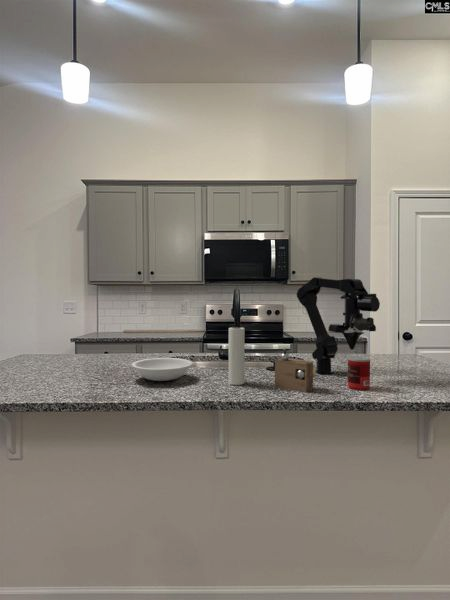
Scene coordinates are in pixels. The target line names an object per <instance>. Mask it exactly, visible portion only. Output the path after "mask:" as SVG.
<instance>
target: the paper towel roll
mask: <svg viewBox="0 0 450 600" xmlns="http://www.w3.org/2000/svg"><path fill="white" fill-rule="evenodd" d="M245 329H246V328H245V327H242V326H241V327H240V326H234V327H229V328H228V384H229V385H233V386H240V385H244V384H245Z"/></svg>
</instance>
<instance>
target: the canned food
mask: <svg viewBox="0 0 450 600" xmlns="http://www.w3.org/2000/svg"><path fill="white" fill-rule="evenodd" d="M370 381H371V358H370V357H367V356H361V355H353V356H348V357H347V386H348V388H349V389H351V390H355V391H367V390H369V389H370V387H371V382H370Z"/></svg>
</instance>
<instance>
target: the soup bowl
mask: <svg viewBox="0 0 450 600" xmlns="http://www.w3.org/2000/svg"><path fill="white" fill-rule="evenodd" d="M192 365H194V363H193V361H192V360H189V359H186V358H177V357H156V358H154V357H153V358H146V359H140V360H137V361H134V362H132V363H131V367H132V368H134V369H136V372H137V373H138V375H140V376H141V377H142V378H144V379H146V380H149V381H156V382H157V381H158V382H163V381H164V382H165V381H167V382H168V381H172V380H175V379H179V378H181V377H182V376H184V374H185V373H187V371H188V369H189V368H190V367H191V366H192Z"/></svg>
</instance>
